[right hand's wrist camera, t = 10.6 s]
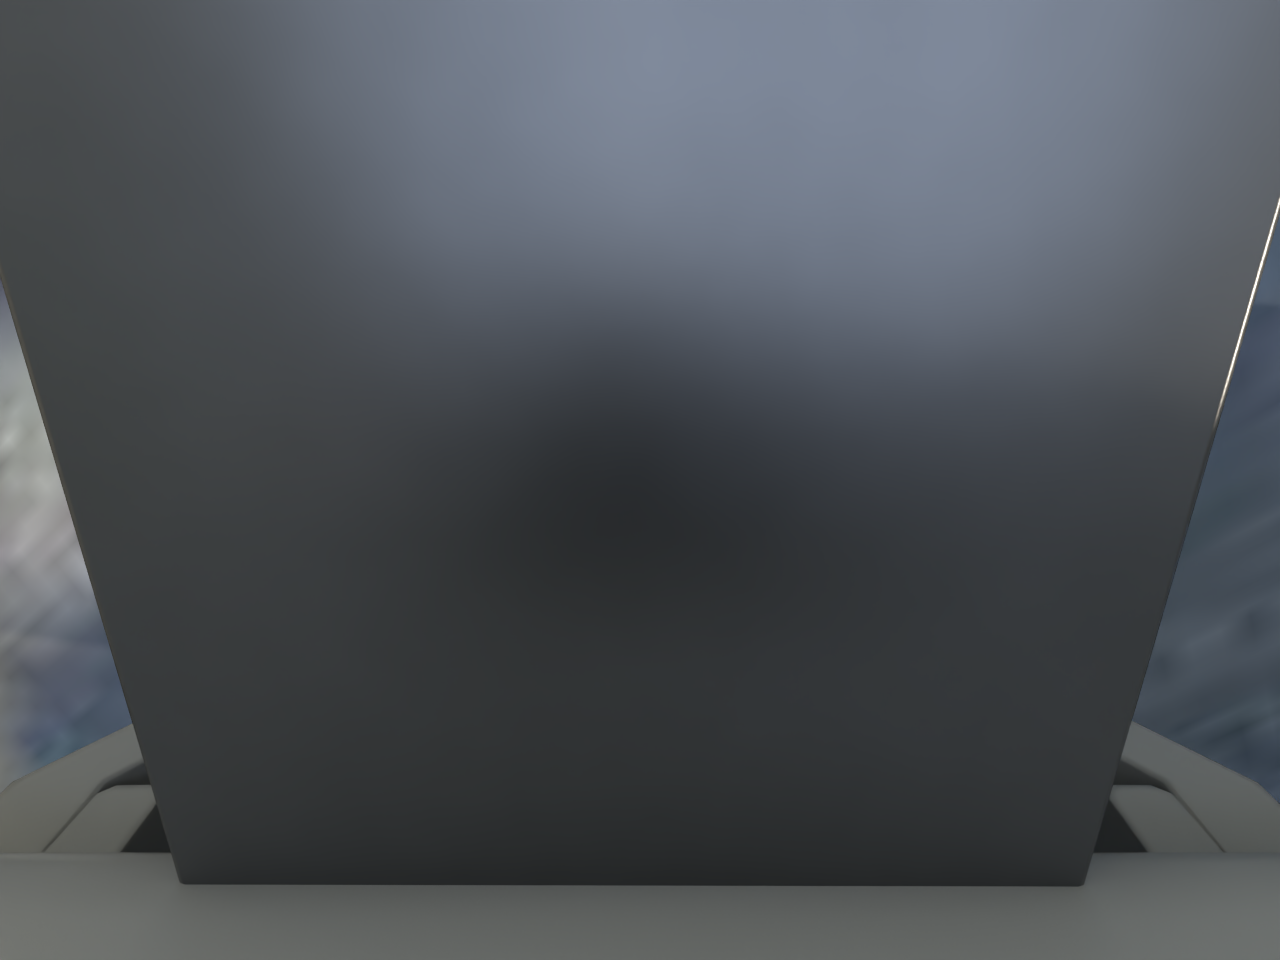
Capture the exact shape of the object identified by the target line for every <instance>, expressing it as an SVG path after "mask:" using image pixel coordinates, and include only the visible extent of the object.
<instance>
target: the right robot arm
mask: <svg viewBox="0 0 1280 960" xmlns="http://www.w3.org/2000/svg"><path fill="white" fill-rule="evenodd" d="M0 960H1280V804H1279V803H1278V802H1277V801H1276V800H1275V799H1274V798H1273V797H1272V796H1271V795H1270V794H1269V793H1268V792H1267V791H1266V790H1265V789H1264V788H1263V787H1262V786H1261V785H1260V784H1259V783H1257V782H1255V781H1253V780H1251V779H1249V778H1247V777H1245V776H1243V775H1241V774H1239V773H1237V772H1235V771H1233V770H1231V769H1229V768H1227V767H1225V766H1223V765H1221V764H1219V763H1217V762H1215V761H1213V760H1211V759H1208V758H1206V757H1204V756H1202V755H1200V754H1198V753H1196V752H1194V751H1192V750H1190V749H1188V748H1186V747H1184V746H1182V745H1180V744H1178V743H1176V742H1174V741H1172V740H1170V739H1168V738H1166V737H1164V736H1162V735H1160V734H1158V733H1156V732H1154V731H1152V730H1150V729H1148V728H1146V727H1143V726H1141V725H1139V724H1137V723H1135V722H1133V721H1131V725H1130V728H1129V732H1128V735H1127V739H1126V742H1125V745H1124V749H1123V752H1122V756H1121V759H1120V763H1119V766H1118V769H1117V773H1116V776H1115V780H1114V783H1113V786H1112V790H1111V793H1110V797H1109V800H1108V804H1107V807H1106V810H1105V814H1104V817H1103V821H1102V824H1101V828H1100V831H1099V834H1098V838H1097V841H1096V845H1095V848H1094V852H1093V855H1092V858H1091V862H1090V865H1089V869H1088V872H1087V876H1086V879H1085V882H1084V885H1082V886H1079V887H1033V886H598V885H185V884H182V883H180V882H179V878H178V875H177V872H176V868H175V865H174V862H173V858H172V855H171V851H170V848H169V845H168V841H167V838H166V835H165V831H164V828H163V824H162V821H161V818H160V814H159V811H158V808H157V804H156V801H155V797H154V794H153V791H152V787H151V784H150V781H149V777H148V774H147V770H146V767H145V764H144V760H143V757H142V754H141V750H140V747H139V743H138V740H137V737H136V733H135V730H134V727H133V724H131V725H128V726H126V727H124V728H122V729H120V730H118V731H116V732H114V733H112V734H110V735H108V736H106V737H104V738H102V739H100V740H98V741H96V742H93V743H91V744H89V745H87V746H85V747H83V748H81V749H79V750H77V751H75V752H73V753H71V754H69V755H67V756H65V757H63V758H61V759H58V760H56V761H54V762H52V763H50V764H48V765H46V766H44V767H42V768H40V769H38V770H36V771H34V772H32V773H30V774H28V775H26V776H23V777H21V778H19V779H17V780H15V781H13V782H12V783H11V784H10V785H9V786H8V787H7V788H6V789H5V790H4V791H3V792H2V793H1V794H0Z"/></svg>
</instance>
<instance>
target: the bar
mask: <svg viewBox="0 0 1280 960" xmlns="http://www.w3.org/2000/svg"><path fill="white" fill-rule="evenodd" d="M1279 215H1280V0H0V277H1V281H2V284H3V288H4V291H5V294H6V298H7V301H8V304H9V308H10V311H11V315H12V318H13V321H14V325H15V328H16V332H17V335H18V338H19V342H20V345H21V348H22V352H23V355H24V359H25V362H26V365H27V369H28V372H29V375H30V379H31V382H32V386H33V389H34V392H35V396H36V399H37V402H38V406H39V409H40V413H41V416H42V419H43V423H44V426H45V429H46V433H47V436H48V440H49V443H50V446H51V450H52V453H53V456H54V460H55V463H56V467H57V470H58V473H59V477H60V480H61V483H62V487H63V490H64V494H65V497H66V500H67V504H68V507H69V510H70V514H71V517H72V521H73V524H74V527H75V531H76V534H77V537H78V541H79V544H80V548H81V551H82V554H83V558H84V561H85V564H86V568H87V571H88V575H89V578H90V581H91V585H92V588H93V591H94V595H95V598H96V602H97V605H98V608H99V612H100V615H101V619H102V622H103V625H104V629H105V632H106V635H107V639H108V642H109V646H110V649H111V652H112V656H113V659H114V662H115V666H116V669H117V673H118V676H119V679H120V683H121V686H122V689H123V693H124V696H125V700H126V703H127V706H128V710H129V713H130V716H131V720H132V723H133V727H134V730H135V733H136V737H137V740H138V743H139V747H140V750H141V754H142V757H143V760H144V764H145V767H146V770H147V774H148V777H149V781H150V784H151V787H152V791H153V794H154V797H155V801H156V804H157V808H158V811H159V814H160V818H161V821H162V824H163V828H164V831H165V835H166V838H167V841H168V845H169V848H170V851H171V855H172V858H173V862H174V865H175V868H176V872H177V875H178V878H179V882H180V883H182V884H185V885H598V886H1033V887H1079V886H1082V885H1084V882H1085V879H1086V876H1087V872H1088V869H1089V865H1090V862H1091V858H1092V855H1093V852H1094V848H1095V845H1096V841H1097V838H1098V834H1099V831H1100V828H1101V824H1102V821H1103V817H1104V814H1105V810H1106V807H1107V804H1108V800H1109V797H1110V793H1111V790H1112V786H1113V783H1114V780H1115V776H1116V773H1117V769H1118V766H1119V763H1120V759H1121V756H1122V752H1123V749H1124V745H1125V742H1126V739H1127V735H1128V732H1129V728H1130V725H1131V721H1132V718H1133V715H1134V711H1135V708H1136V704H1137V701H1138V697H1139V694H1140V691H1141V687H1142V684H1143V680H1144V677H1145V674H1146V670H1147V667H1148V663H1149V660H1150V656H1151V653H1152V650H1153V646H1154V643H1155V639H1156V636H1157V632H1158V629H1159V626H1160V622H1161V619H1162V615H1163V612H1164V608H1165V605H1166V602H1167V598H1168V595H1169V591H1170V588H1171V584H1172V581H1173V578H1174V574H1175V571H1176V567H1177V564H1178V561H1179V557H1180V554H1181V550H1182V547H1183V543H1184V540H1185V537H1186V533H1187V530H1188V526H1189V523H1190V519H1191V516H1192V513H1193V509H1194V506H1195V502H1196V499H1197V495H1198V492H1199V489H1200V485H1201V482H1202V478H1203V475H1204V472H1205V468H1206V465H1207V461H1208V458H1209V454H1210V451H1211V448H1212V444H1213V441H1214V437H1215V434H1216V430H1217V427H1218V424H1219V420H1220V417H1221V413H1222V410H1223V406H1224V403H1225V400H1226V396H1227V393H1228V389H1229V386H1230V383H1231V379H1232V376H1233V372H1234V369H1235V365H1236V362H1237V359H1238V355H1239V352H1240V348H1241V345H1242V341H1243V338H1244V335H1245V331H1246V328H1247V324H1248V321H1249V317H1250V314H1251V311H1252V307H1253V304H1254V300H1255V297H1256V293H1257V290H1258V287H1259V283H1260V280H1261V276H1262V273H1263V270H1264V266H1265V263H1266V259H1267V256H1268V252H1269V249H1270V246H1271V242H1272V239H1273V235H1274V232H1275V228H1276V225H1277V222H1278V218H1279Z"/></svg>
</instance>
